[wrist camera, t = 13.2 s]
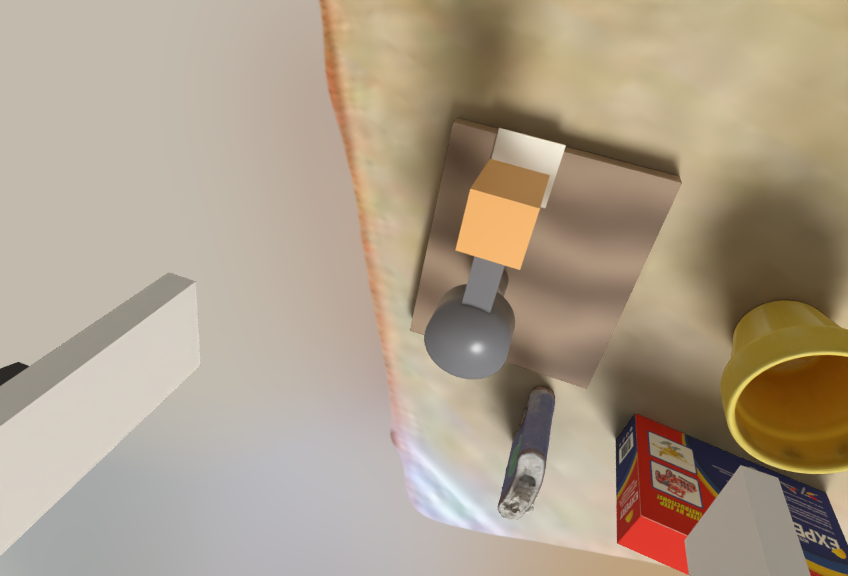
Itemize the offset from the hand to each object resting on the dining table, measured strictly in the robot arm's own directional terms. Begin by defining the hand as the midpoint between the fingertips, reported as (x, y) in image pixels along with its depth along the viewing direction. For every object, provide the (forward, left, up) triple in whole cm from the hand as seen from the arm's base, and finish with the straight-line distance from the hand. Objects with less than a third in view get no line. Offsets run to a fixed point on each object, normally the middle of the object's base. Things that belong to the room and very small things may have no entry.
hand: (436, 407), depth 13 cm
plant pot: (+12, +22, -33) cm, 41 cm away
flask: (+29, +7, -33) cm, 44 cm away
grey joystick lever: (+9, -1, -25) cm, 27 cm away
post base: (+12, +2, -33) cm, 35 cm away
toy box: (+27, +24, -33) cm, 49 cm away
